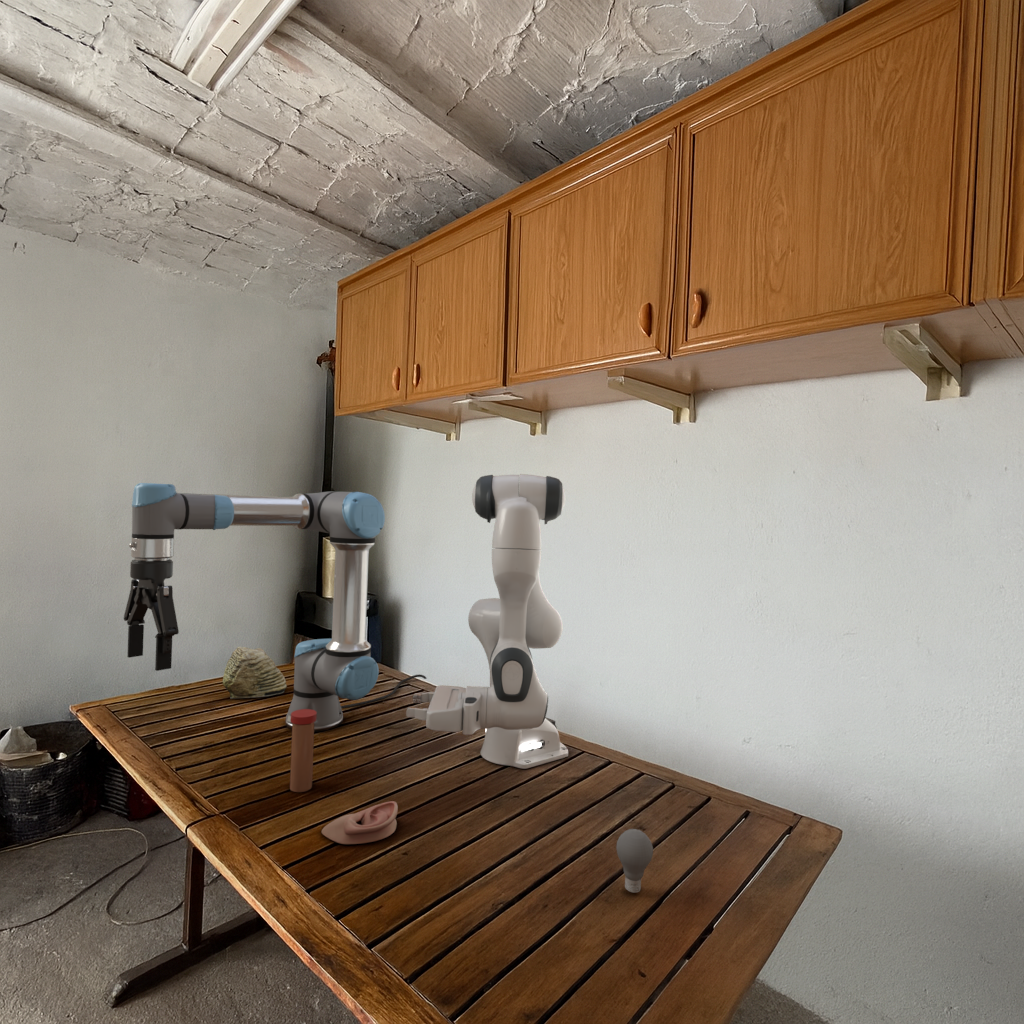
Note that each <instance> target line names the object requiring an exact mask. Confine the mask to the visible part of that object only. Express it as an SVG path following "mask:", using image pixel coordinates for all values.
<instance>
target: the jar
mask: <svg viewBox="0 0 1024 1024" xmlns="http://www.w3.org/2000/svg"><path fill="white" fill-rule="evenodd" d="M314 723H315V722H313V723H310V724H304V725H298V724H293V723H292V729H291V745H290V769H289V770H290V771H289V772H290V773H289V774H290V775H289V790H290V791H291V792H293V793H304V792H308V791H310V790H312V788H313V776H314V775H313V772H314V771H313V770H314V750H315V749H314V748H315V747H314V746H315V745H314V744H315V732H314Z"/></svg>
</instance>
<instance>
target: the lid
mask: <svg viewBox="0 0 1024 1024" xmlns="http://www.w3.org/2000/svg"><path fill="white" fill-rule="evenodd" d="M316 716H317V712H316V711H315V710H311V709H301V710H296V711H293V712H292V713H291V723H293V724H298V725H304V724H310V723H313V722H315V721H316Z"/></svg>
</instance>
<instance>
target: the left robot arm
mask: <svg viewBox="0 0 1024 1024" xmlns="http://www.w3.org/2000/svg"><path fill="white" fill-rule="evenodd" d="M385 515H386V513H385V511H384V508H383V505H382V503H381V502H380V501H379V500H378V498H377V497H375V495H373V494H370V493H367V492H363V491H362V492H361V491H337V490H336V491H335V490H333V491H332V490H330V491H321V492H311V493H295V494H294V495H293V496H276V495H275V496H274V495H273V496H272V495H248V494H247V495H246V494H244V495H243V494H220V493H219V494H218V493H217V494H216V493H215V494H214V493H189V492H187V493H186V492H177V491H176V486H175V485H174V484H173V483H152V482H139V483H137V484H136V485H135V486H134V488H133V492H132V501H131V520H132V521H131V542H130V543H128V547H129V548H130V549H131V550H130V556H131V558H133V559H132V560H131V561H130V567H129V568H130V571H129V574H130V575H129V576H130V578H131V581H130V590H129V594H128V598H127V603H126V607H125V610H124V615H123V621H124V622H126V624H127V626H128V629H127V630H128V631H127V658H135V657H142V656H144V635H145V634H144V630H145V625H144V624H145V623H146V621H145V619H144V618H145V616H146V615H147V612H148V609H149V610H151V613H152V618H153V620H154V624H155V627H156V631H157V633H156V635H155V636H154V638H155V661H154V663H155V665H154V668H155V669H154V670H155V671H157V672H159V671H164V670H169V669H172V659H173V657H172V655H173V637H175V636H176V635H179V632H180V631H179V625H178V619H177V615H176V614H177V613H176V609H175V603H174V597H173V595H174V593H173V585H165V580H167V579H171V578H172V577H173V575H174V573H173V572H174V561H173V560H172V559H171V558H173V557H174V554H175V553H174V552H175V530H213V531H215V530H224V529H228V528H230V526H233V527H234V526H237V527H238V526H240V527H243V526H246V527H247V526H249V527H250V526H258V527H259V526H268V527H269V526H276V527H277V526H282V527H284V526H285V527H286V526H287V527H288V526H289V527H290V526H291V527H293V528H294V529H296V530H308V531H309V530H310V531H316V532H319V533H325V534H329V544H330V545H331V546H332V547H333V548H334V550H335V551H334V572H333V573H334V577H333V599H332V625H331V626H332V627H331V638H317V639H308V640H304V641H300V642H299V643H297V645H296V646H295V650H294V655H293V657H294V672H293V673H294V674H293V695H292V696H293V697H292V699H291V702H290V704H289V708H288V711H287V713H286V715H285V726H286V728H287V729H289V730H292V723H291V713H292V712H293V711H296V710H301V709H311V710H315V711H316V712H317V716H316V721H315V723H314V733H316V732H325V731H329V730H332V729H335V728H337V727H339V726H340V725H342V723H343V722H344V714H343V709H349V708H353V707H358V706H363V705H367V704H371V703H375V702H379V701H381V700H382V701H383V700H384V699H387V698H390V697H392V696H393V695H394V694H395V693H396V692H397V690H398V688H399V687H400V686H401V685H402V684H403V683H405V682H408V681H410V680H412V679H415V678H423V679H425V680H427V679H428V678H427V677H426V675H423V674H414V675H412V676H409V677H406V678H404V679H402V680H400V681H399V682H398V683H397V685H396V686H395V687H394V688H393V690H392V691H391V692H390V693H388V694H385V695H383V696H380V697H376V698H372V699H369V700H365V701H364V700H363V701H361V702H360V701H359V702H356V703H351V704H344V705H341V702H340V699H339V698H341V699H342V700H343V699H344V700H348V701H349V700H350V701H357V700H360V699H362V698H364V697H365V696H367V695H368V694H370V692H371V690H372V689H374V687H375V685H376V683H377V682H378V678H379V674H380V672H379V671H380V670H379V669H380V668H379V665H378V663H377V662H376V660H375V659H374V657H371V652H372V649H371V648H372V644H371V643H370V642H368V640H367V639H366V631H367V607H368V606H367V605H368V604H367V602H368V582H369V581H368V579H369V555H370V553H369V552H370V550H371V548H372V547H374V545H375V544H376V536H378V535H379V534H380V533H381V530H383V528H384V526H385V522H386V521H385V520H386V516H385Z"/></svg>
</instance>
